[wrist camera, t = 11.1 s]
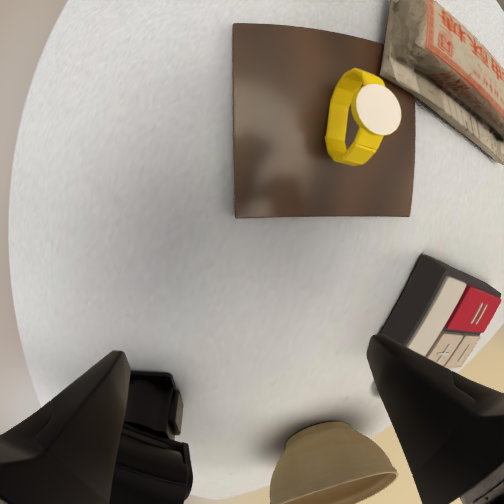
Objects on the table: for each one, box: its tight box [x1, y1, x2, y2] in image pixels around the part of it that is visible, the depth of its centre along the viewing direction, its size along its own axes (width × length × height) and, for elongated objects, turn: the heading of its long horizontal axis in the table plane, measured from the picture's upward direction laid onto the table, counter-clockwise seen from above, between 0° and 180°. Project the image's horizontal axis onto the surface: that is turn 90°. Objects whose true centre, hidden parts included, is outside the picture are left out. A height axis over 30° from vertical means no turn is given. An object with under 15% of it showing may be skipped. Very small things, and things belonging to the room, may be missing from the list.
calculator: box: [380, 255, 501, 368], centre depth 23 cm, size 11×4×15 cm
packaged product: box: [380, 0, 504, 165], centre depth 14 cm, size 18×5×10 cm
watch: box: [325, 68, 401, 166], centre depth 14 cm, size 6×3×6 cm, turn 171°
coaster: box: [233, 23, 415, 218], centre depth 17 cm, size 14×14×1 cm
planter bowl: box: [270, 422, 398, 504], centre depth 26 cm, size 16×16×11 cm
